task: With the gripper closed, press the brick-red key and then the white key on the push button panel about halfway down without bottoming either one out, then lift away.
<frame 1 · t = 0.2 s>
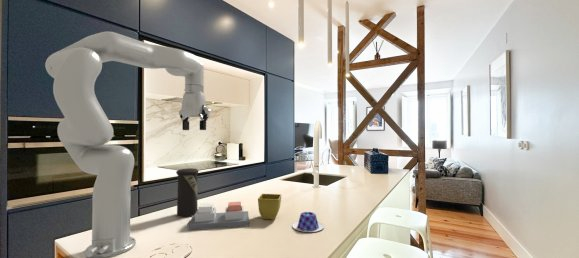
hand: (194, 130, 107), 37 cm above the counter, tool pointing down, fingers open, 9 cm apart
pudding: (308, 228, 95), on the counter
flower pot: (269, 218, 105), on the counter
container: (187, 214, 109), on the counter
white key: (206, 208, 98), point 6 cm above the counter, slide at 0.0 cm
brick key: (234, 207, 100), point 6 cm above the counter, slide at 0.0 cm
push button panel: (220, 222, 99), on the counter
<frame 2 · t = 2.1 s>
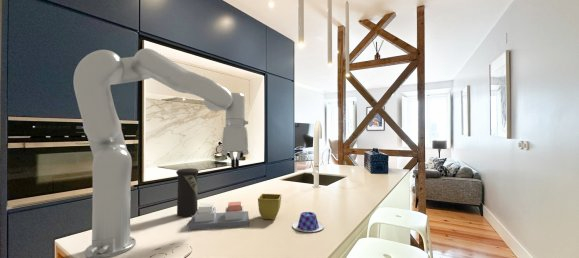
hand: (235, 169, 101), 21 cm above the counter, tool pointing down, fingers closed
nothing on the counter moved.
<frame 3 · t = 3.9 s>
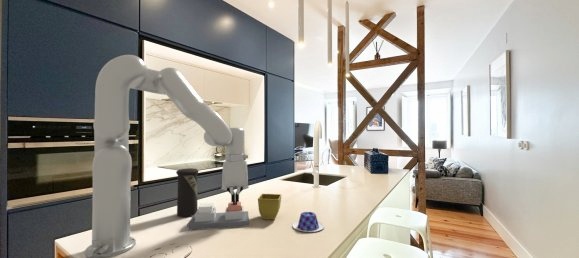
hand: (235, 203, 100), 7 cm above the counter, tool pointing down, fingers closed
brick key: (234, 207, 100), point 6 cm above the counter, slide at 0.1 cm, touching gripper
everything else where it was.
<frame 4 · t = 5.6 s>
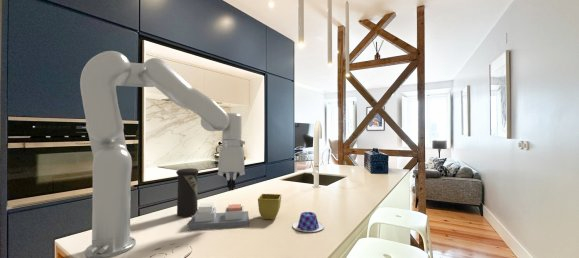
hand: (231, 189, 100), 13 cm above the counter, tool pointing down, fingers closed
brick key: (234, 209, 100), point 5 cm above the counter, slide at 1.0 cm
everything else where it was.
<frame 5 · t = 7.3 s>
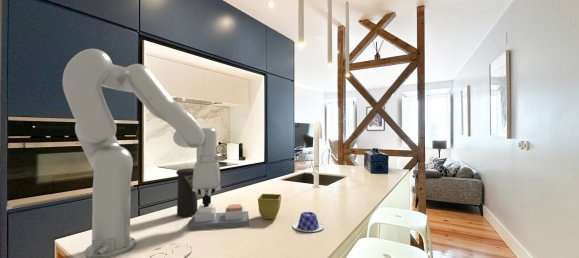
hand: (206, 205, 98), 7 cm above the counter, tool pointing down, fingers closed
white key: (206, 209, 98), point 5 cm above the counter, slide at 0.3 cm, touching gripper
everything else where it was.
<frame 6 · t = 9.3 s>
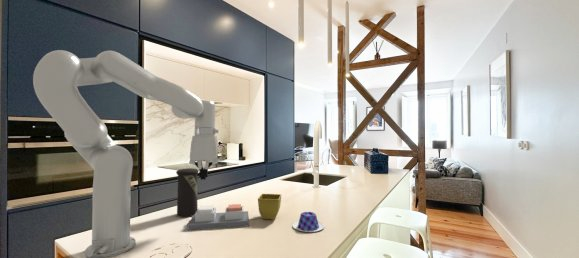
hand: (203, 179, 98), 17 cm above the counter, tool pointing down, fingers closed
white key: (206, 211, 98), point 5 cm above the counter, slide at 1.0 cm
everything else where it was.
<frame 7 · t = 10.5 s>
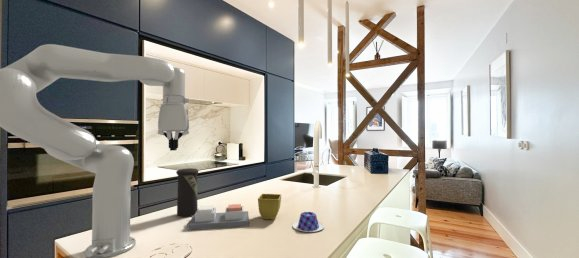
hand: (173, 150, 93), 29 cm above the counter, tool pointing down, fingers closed
nothing on the counter moved.
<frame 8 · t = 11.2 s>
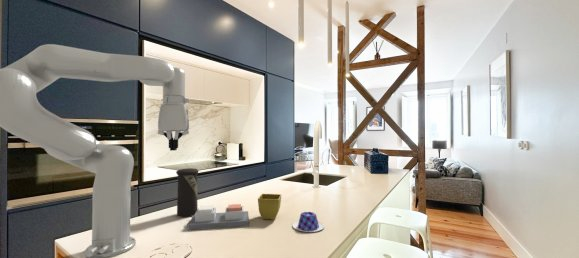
hand: (173, 150, 93), 29 cm above the counter, tool pointing down, fingers closed
nothing on the counter moved.
at the end: brick key slide at 1.0 cm; white key slide at 1.0 cm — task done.
